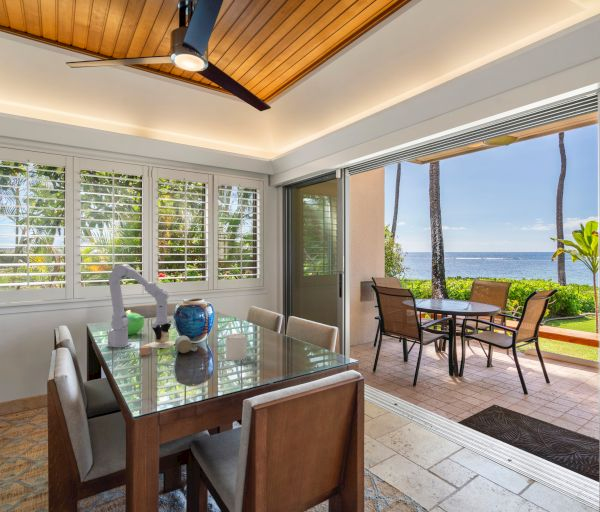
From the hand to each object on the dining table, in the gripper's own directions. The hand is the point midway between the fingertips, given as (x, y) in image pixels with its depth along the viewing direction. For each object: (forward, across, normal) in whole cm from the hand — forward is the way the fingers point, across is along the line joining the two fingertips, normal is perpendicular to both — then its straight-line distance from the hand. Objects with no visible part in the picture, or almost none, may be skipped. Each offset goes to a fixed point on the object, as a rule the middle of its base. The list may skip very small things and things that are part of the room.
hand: (161, 338), depth 200 cm
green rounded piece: (+4, +15, +34) cm, 37 cm away
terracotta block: (+4, -19, -4) cm, 20 cm away
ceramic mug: (+4, -8, -20) cm, 22 cm away
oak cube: (+2, 0, 0) cm, 2 cm away
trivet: (+4, 0, 0) cm, 4 cm away
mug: (+4, -10, -49) cm, 50 cm away
